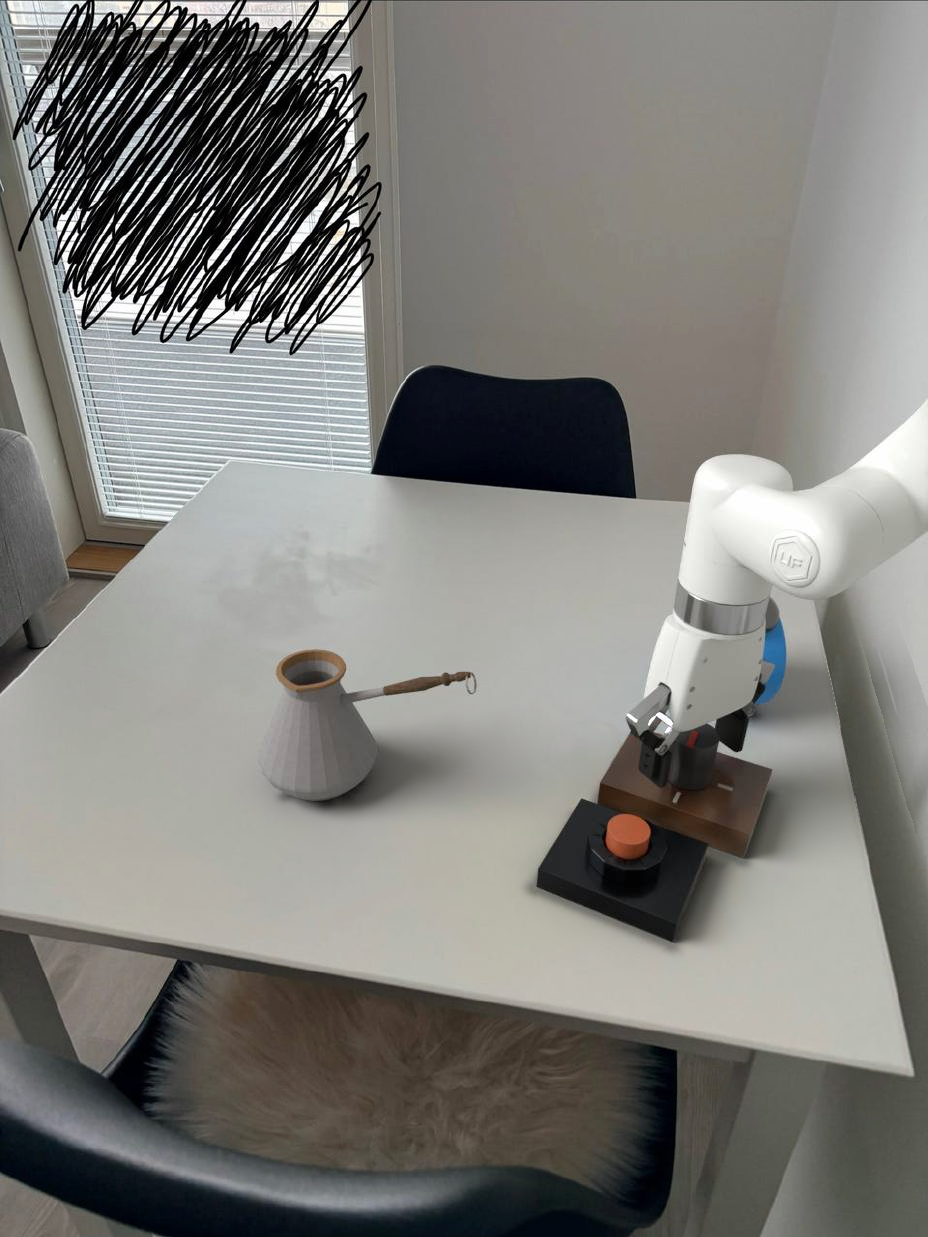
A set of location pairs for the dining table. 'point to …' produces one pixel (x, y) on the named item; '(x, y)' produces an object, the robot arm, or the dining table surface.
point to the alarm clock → (773, 651)
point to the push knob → (627, 836)
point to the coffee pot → (325, 726)
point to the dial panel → (691, 799)
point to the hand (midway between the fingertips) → (690, 760)
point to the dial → (693, 758)
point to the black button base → (623, 872)
